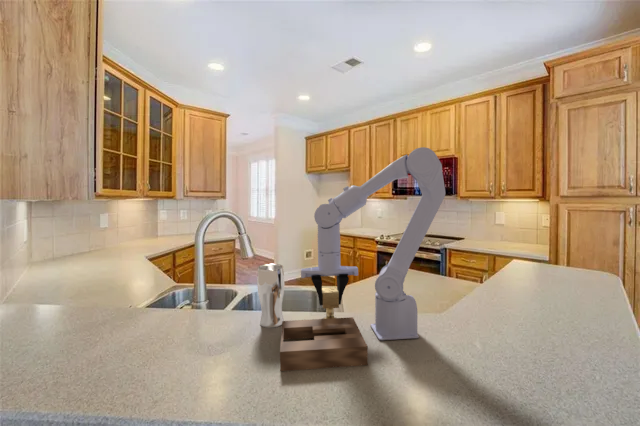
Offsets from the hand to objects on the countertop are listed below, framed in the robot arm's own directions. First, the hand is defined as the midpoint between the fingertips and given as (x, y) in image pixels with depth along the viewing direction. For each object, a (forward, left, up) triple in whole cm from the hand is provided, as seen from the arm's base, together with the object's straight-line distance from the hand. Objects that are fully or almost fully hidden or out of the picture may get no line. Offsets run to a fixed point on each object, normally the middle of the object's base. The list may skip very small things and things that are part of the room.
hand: (329, 303), depth 76 cm
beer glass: (+15, -3, -6) cm, 16 cm away
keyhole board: (+4, +12, -6) cm, 14 cm away
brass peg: (0, 0, -5) cm, 5 cm away
